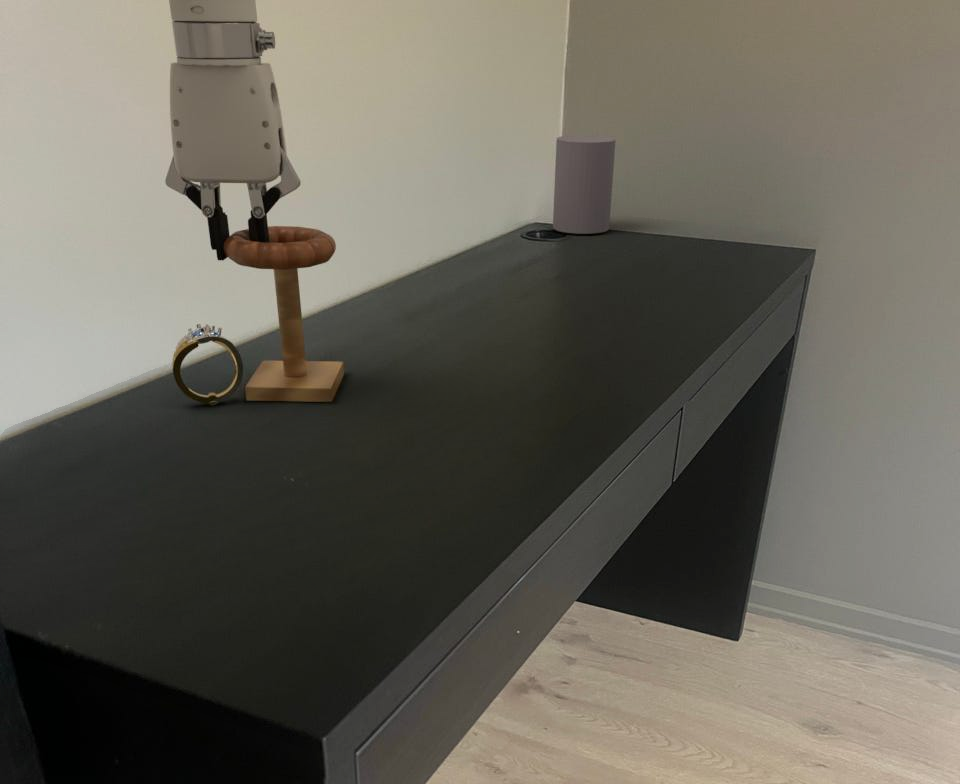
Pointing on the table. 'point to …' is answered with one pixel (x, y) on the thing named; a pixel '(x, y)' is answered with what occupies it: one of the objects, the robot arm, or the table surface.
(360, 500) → the table surface
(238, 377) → the ring
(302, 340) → the post
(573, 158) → the container
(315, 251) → the ring
